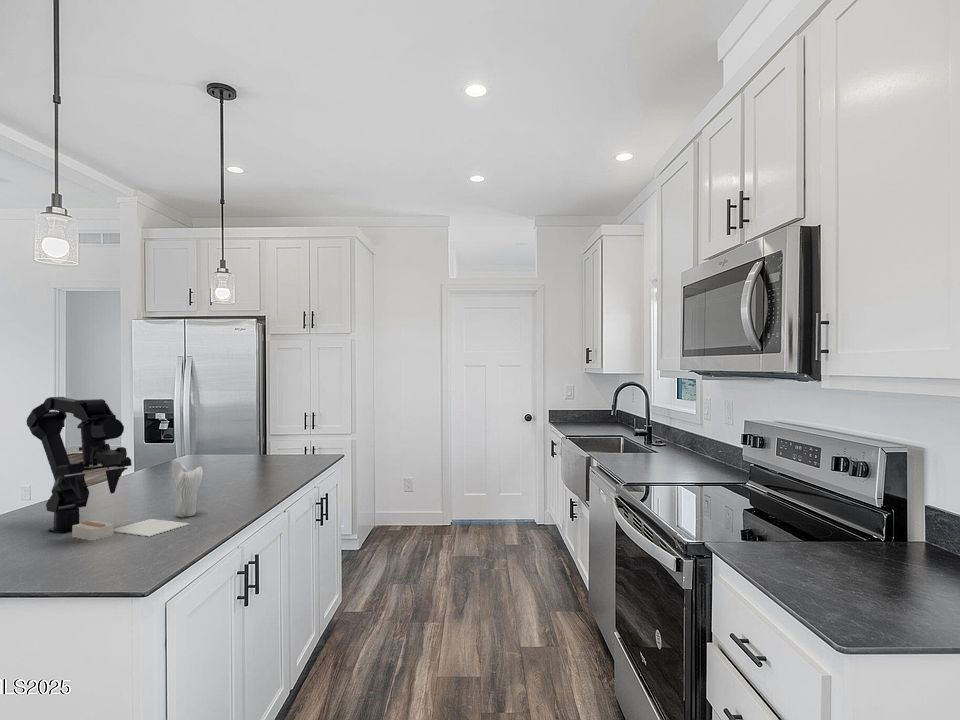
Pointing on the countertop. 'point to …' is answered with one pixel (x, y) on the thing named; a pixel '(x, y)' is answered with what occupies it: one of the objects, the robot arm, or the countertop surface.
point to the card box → (92, 530)
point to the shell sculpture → (186, 488)
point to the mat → (150, 527)
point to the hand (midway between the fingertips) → (97, 496)
